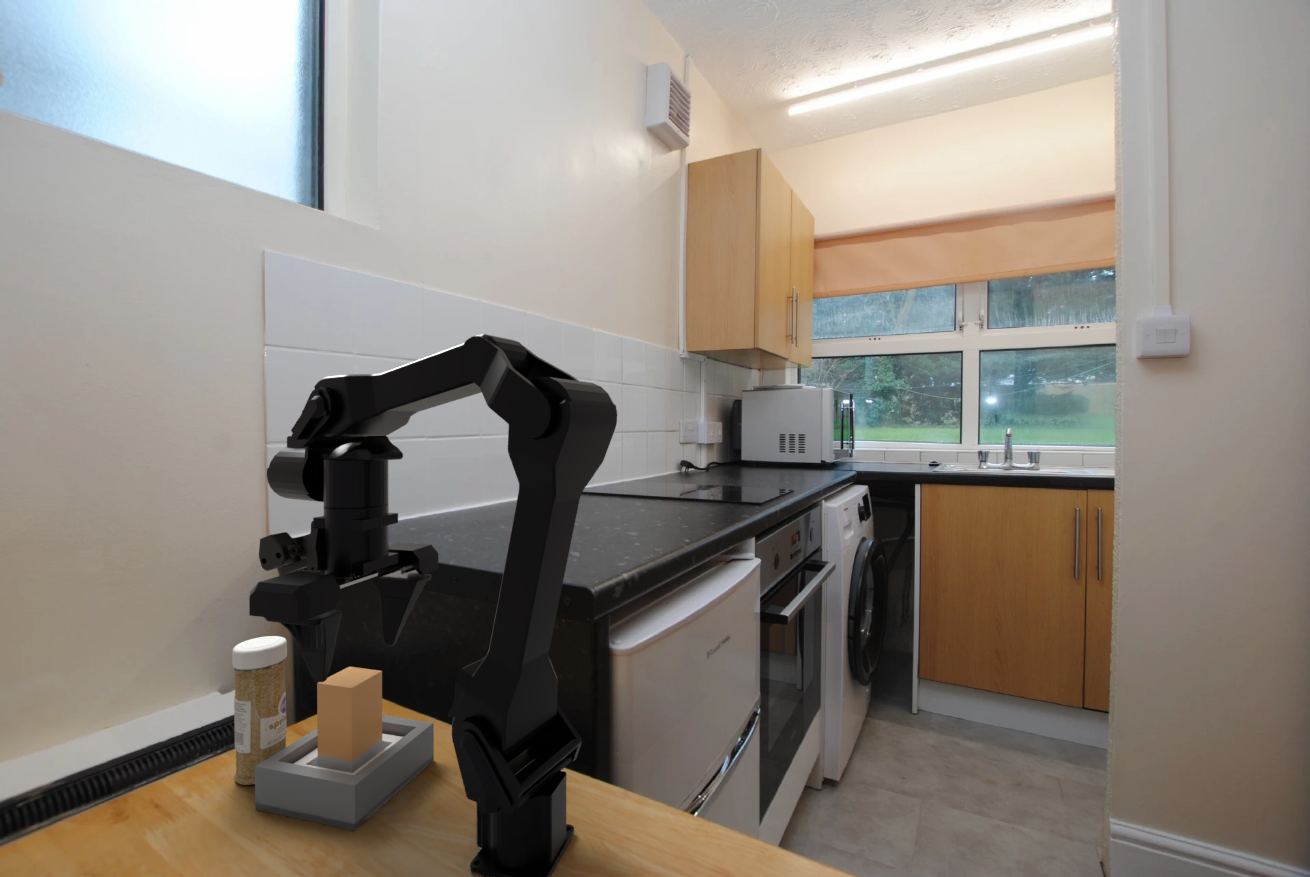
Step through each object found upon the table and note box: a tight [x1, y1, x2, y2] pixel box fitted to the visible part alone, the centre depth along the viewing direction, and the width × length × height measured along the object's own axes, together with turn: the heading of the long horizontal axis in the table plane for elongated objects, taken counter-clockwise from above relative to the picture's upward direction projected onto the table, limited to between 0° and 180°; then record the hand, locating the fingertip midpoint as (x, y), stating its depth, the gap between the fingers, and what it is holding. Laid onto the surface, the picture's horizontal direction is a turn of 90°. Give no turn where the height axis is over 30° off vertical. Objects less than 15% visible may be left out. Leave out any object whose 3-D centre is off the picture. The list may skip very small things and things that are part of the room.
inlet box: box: [254, 714, 435, 832], centre depth 57 cm, size 11×11×4 cm
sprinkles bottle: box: [231, 635, 288, 786], centre depth 58 cm, size 5×5×14 cm
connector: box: [316, 666, 383, 773], centre depth 57 cm, size 4×4×10 cm
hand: (357, 661), depth 57 cm, fingers open, 9 cm apart
